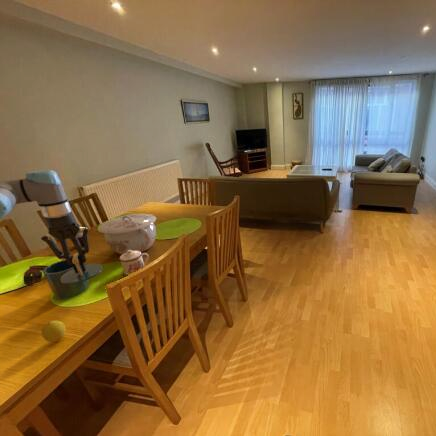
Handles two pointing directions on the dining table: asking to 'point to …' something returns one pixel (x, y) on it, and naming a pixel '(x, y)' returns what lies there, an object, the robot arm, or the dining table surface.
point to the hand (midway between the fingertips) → (81, 270)
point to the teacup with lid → (132, 261)
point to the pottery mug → (33, 274)
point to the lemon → (53, 331)
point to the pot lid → (80, 272)
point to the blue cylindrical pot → (59, 288)
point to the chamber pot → (129, 232)
